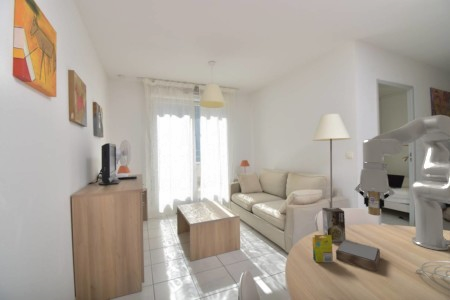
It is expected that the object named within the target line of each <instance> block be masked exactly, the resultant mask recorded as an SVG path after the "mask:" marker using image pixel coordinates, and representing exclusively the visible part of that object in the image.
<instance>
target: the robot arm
mask: <svg viewBox="0 0 450 300" xmlns="http://www.w3.org/2000/svg"><path fill="white" fill-rule="evenodd" d="M418 139H419V140H420V141H421V143H422V145H423V148H424V151H425V152H424V153H425V154H424V157H423V161H422V164H421V168H420V174H421V176H422V177H423V178H425V179H427V180H423V179H421V180H420V179H419V180H416V181H414V182H412V184H411V188H410V189H411V193H412V197H413V203H414V221H415V236H414V237H411V242H412V243H414V244H416V245H418V246H420V247H423V248H426V249H429V250H435V251H448V250H449V249H450V248H449V247H450V239H446V238H445V236H444V222H443V217H444V216H443V209H442V207H441V205H440V204H439V203H442V204H443V203H444V204H448V205H450V160H449V159H450V150H449V149H448V148H447V147H446V146H444V144H443V143H450V116H448V115H443V114H437V115H430V116H422V117H417V118H415V119H413V120H410V121H409V122H407V123H405V124H404V125H402V126H401V127H398V128H396V129H391V130H390V131H386V132H384V133H380V134H378V135H376V136H374V137H372V138H369V139H364V140H363V141H362V168H361V170H360V176H359V184H358V185H357V186H356V187H355V188H354V190H355V191H356V192H357V193H359V195H361V196H362V197H363V205H365V207H366V208H368V192H370V191H375V192H378V193H380V210H382V209H383V208H384V207H385V200H386V199H387V198H389V197H391V196H393V195H395V191H394V190H393V189H392V188H391V186H390V185H389V178H388V172H387V170H386V168H389V164H386V163H385V162H384V161H385V158H384V157H385V156H396V155H399V154H400V153H401V152H402V151H403V148H404V145H407V144H411V143H414V142H416V141H417V140H418ZM428 179H429V180H428ZM436 180H437V181H436ZM442 181H445V182H442ZM446 181H447V182H446ZM372 188H374V189H372Z"/></svg>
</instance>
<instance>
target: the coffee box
mask: <svg viewBox="0 0 450 300" xmlns="http://www.w3.org/2000/svg"><path fill="white" fill-rule="evenodd" d="M321 209H322V230H323V231H322V232H323V233H322V235H331V236H332V243H333V242H335V243H339V242H340V243H342V242H343V240H347V238H346V219H345V211H344V210H343V209H341V208H340V207H322V208H321ZM322 237H324V236H322Z"/></svg>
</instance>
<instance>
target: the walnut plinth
mask: <svg viewBox="0 0 450 300" xmlns="http://www.w3.org/2000/svg"><path fill="white" fill-rule="evenodd" d="M380 250H381V249H380V248H379V247H375V246H371V245H366V244H362V243H358V242H354V241H350V240H347V239H346V240H343V242H340V244H339V246H338V248H337V249H336V250H335V258H336V261H337V260H338V261H341V262H344V263H347V264H351V265H354V266H357V267H360V268H363V269H366V270H370V271H372V272H378V266H379V262H380V259H381V254H380V253H381V251H380Z"/></svg>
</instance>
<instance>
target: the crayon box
mask: <svg viewBox="0 0 450 300" xmlns="http://www.w3.org/2000/svg"><path fill="white" fill-rule="evenodd" d="M323 236H324V237H323ZM312 254H313V255H312V256H313V257H312V258H313V261H314V262H315V263H332V264H333V263H334V255H333V254H334V253H333V242H332V236H331V235H323V234H314V236H313V237H312Z"/></svg>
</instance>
